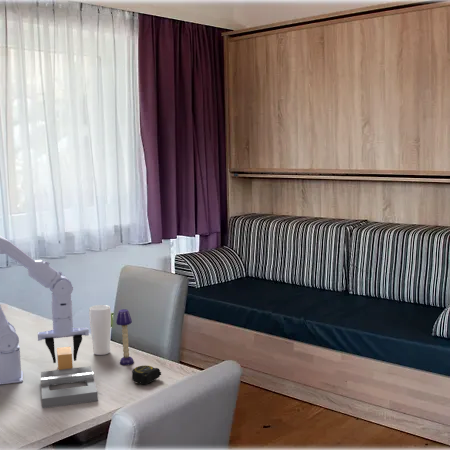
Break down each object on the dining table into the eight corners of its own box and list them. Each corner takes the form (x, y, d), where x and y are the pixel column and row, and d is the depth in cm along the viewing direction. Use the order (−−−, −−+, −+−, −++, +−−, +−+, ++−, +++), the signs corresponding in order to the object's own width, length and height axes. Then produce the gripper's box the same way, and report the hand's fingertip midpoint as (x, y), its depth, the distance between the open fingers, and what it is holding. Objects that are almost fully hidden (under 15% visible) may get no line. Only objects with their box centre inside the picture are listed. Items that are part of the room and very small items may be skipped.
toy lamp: (130, 366, 193) (128, 312, 191) (115, 365, 194) (113, 311, 192) (135, 360, 198) (133, 308, 195) (121, 360, 198) (119, 307, 196)
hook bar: (41, 385, 172) (40, 380, 172) (41, 383, 174) (40, 377, 174) (94, 379, 176) (93, 373, 176) (93, 377, 178) (93, 371, 178)
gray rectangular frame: (42, 408, 164) (41, 398, 164) (41, 380, 183) (40, 371, 183) (97, 400, 168) (97, 391, 168) (91, 374, 187) (90, 366, 187)
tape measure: (146, 388, 176) (145, 375, 176) (127, 383, 180) (126, 370, 180) (161, 380, 182) (161, 367, 182) (143, 375, 186) (142, 363, 185)
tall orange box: (58, 375, 187) (57, 355, 186) (57, 367, 193) (56, 347, 192) (72, 373, 188) (71, 353, 187) (71, 365, 194) (70, 346, 194)
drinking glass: (102, 357, 201) (100, 311, 199) (86, 354, 204) (84, 308, 202) (116, 351, 206) (115, 306, 204) (101, 348, 210) (99, 303, 208)
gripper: (86, 310, 194) (88, 353, 196) (36, 315, 190) (39, 359, 192) (88, 316, 187) (90, 361, 189) (36, 321, 183) (39, 367, 185)
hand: (64, 360), depth 190 cm, fingers open, 5 cm apart
